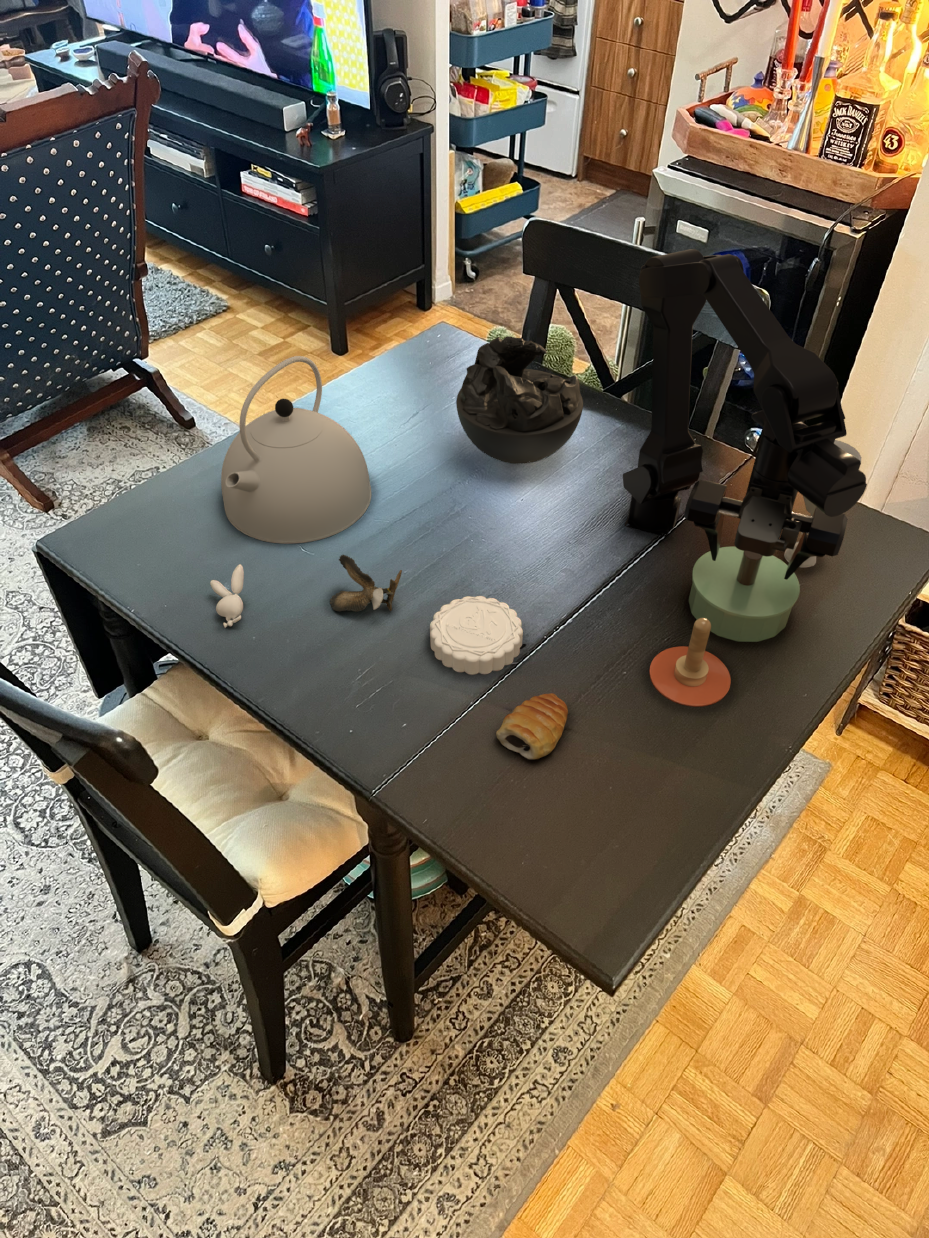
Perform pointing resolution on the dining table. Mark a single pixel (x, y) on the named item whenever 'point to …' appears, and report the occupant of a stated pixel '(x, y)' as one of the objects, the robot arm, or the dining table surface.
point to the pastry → (534, 726)
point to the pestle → (694, 656)
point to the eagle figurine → (368, 594)
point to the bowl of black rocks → (517, 403)
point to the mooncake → (476, 635)
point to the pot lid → (745, 583)
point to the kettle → (293, 472)
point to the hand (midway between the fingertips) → (749, 568)
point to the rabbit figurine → (230, 597)
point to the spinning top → (683, 694)
